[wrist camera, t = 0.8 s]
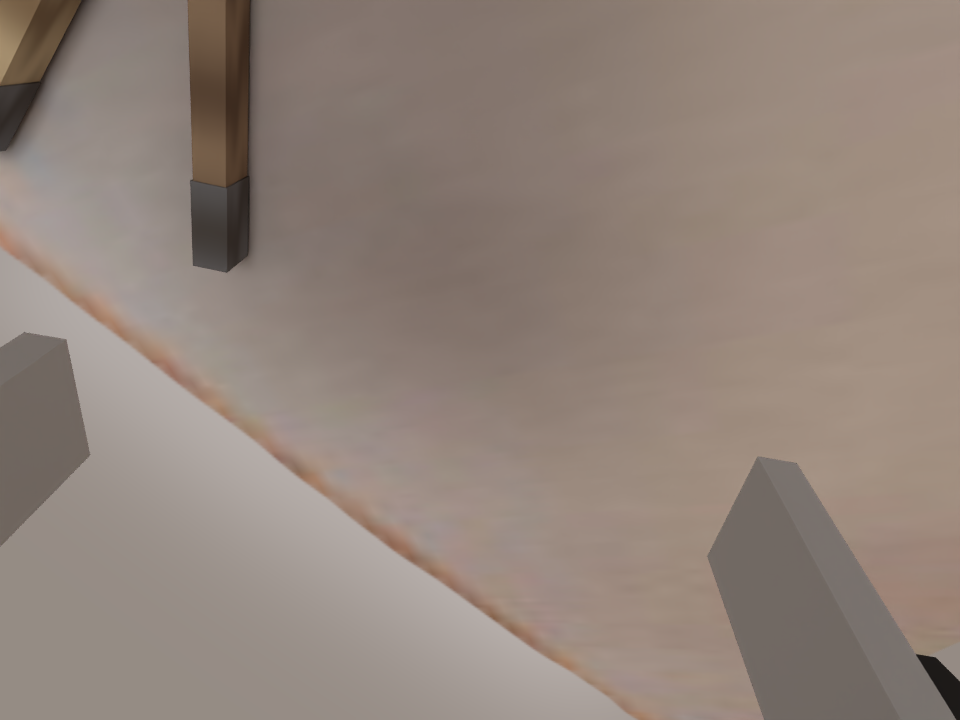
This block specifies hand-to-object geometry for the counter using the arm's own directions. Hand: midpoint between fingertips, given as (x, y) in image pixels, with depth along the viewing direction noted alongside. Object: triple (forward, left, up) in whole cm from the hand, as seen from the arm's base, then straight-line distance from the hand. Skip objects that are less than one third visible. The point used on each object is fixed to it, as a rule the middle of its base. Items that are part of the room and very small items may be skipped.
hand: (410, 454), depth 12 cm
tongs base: (-4, -15, -26) cm, 31 cm away
